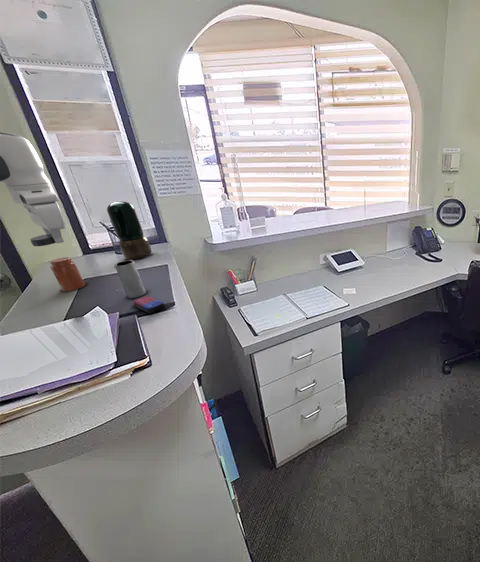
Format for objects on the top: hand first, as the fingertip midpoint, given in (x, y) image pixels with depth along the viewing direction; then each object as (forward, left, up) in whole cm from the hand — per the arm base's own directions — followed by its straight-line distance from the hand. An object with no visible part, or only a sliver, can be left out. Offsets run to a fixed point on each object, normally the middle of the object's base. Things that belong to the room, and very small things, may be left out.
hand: (56, 241), depth 94 cm
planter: (+15, -22, -15) cm, 31 cm away
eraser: (+18, -34, -15) cm, 41 cm away
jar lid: (-2, -1, +1) cm, 3 cm away
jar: (-1, 0, -15) cm, 15 cm away
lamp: (+17, +22, -15) cm, 32 cm away
